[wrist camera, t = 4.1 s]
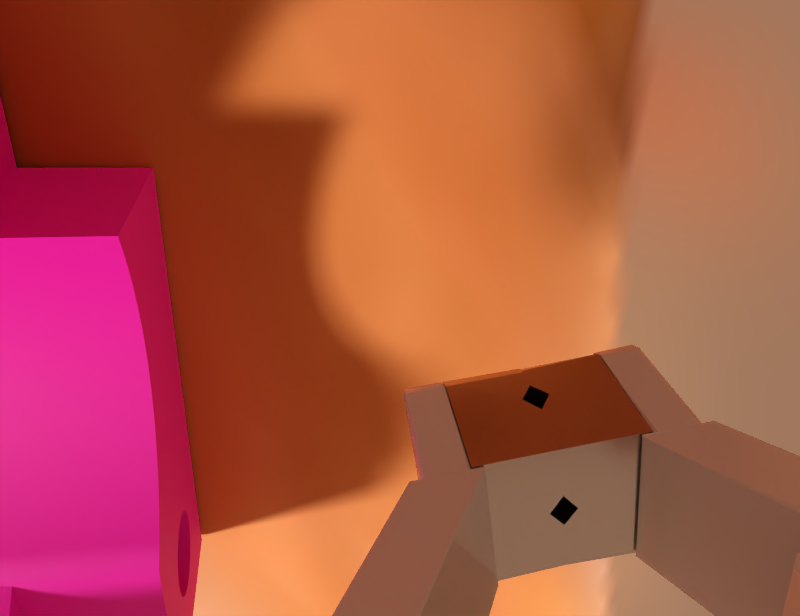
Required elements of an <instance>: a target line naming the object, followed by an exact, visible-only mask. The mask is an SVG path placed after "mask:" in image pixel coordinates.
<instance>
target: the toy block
mask: <svg viewBox="0 0 800 616" xmlns="http://www.w3.org/2000/svg"><path fill="white" fill-rule="evenodd" d="M201 540H202V539H201V531H200V523H199V515H198V508H197V500H196V492H195V485H194V477H193V469H192V461H191V454H190V446H189V438H188V430H187V423H186V415H185V407H184V400H183V392H182V384H181V376H180V369H179V361H178V353H177V345H176V338H175V330H174V322H173V314H172V307H171V299H170V291H169V284H168V276H167V268H166V260H165V253H164V245H163V237H162V229H161V222H160V214H159V206H158V199H157V191H156V183H155V175H154V168H17V166H16V162H15V158H14V153H13V149H12V145H11V140H10V136H9V132H8V127H7V123H6V119H5V114H4V110H3V105H2V101H1V97H0V616H193V609H194V600H195V592H196V583H197V575H198V566H199V557H200V549H201Z"/></svg>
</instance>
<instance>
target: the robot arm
mask: <svg viewBox="0 0 800 616" xmlns="http://www.w3.org/2000/svg"><path fill="white" fill-rule="evenodd" d="M404 401H405V406H406V412H407V418H408V423H409V429H410V435H411V440H412V446H413V452H414V457H415V463H416V468H417V474H418V480H416V481H411V482H409V484H408V485H407V487H406V489H405V491H404V492H403V494H402V496H401V498H400V499H399V501H398V503H397V505H396V506H395V508H394V510H393V511H392V513H391V515H390V517H389V518H388V520H387V522H386V524H385V525H384V527H383V529H382V530H381V532H380V534H379V536H378V537H377V539H376V541H375V543H374V544H373V546H372V548H371V550H370V551H369V553H368V555H367V556H366V558H365V560H364V562H363V563H362V565H361V567H360V569H359V570H358V572H357V574H356V575H355V577H354V579H353V581H352V582H351V584H350V586H349V588H348V589H347V591H346V593H345V595H344V596H343V598H342V600H341V601H340V603H339V605H338V607H337V608H336V610H335V612H334V614H333V615H332V616H489V614H490V611H491V607H492V604H493V601H494V597H495V594H496V591H497V587H498V581H499V580H503V579H507V578H512V577H516V576H520V575H524V574H529V573H533V572H537V571H541V570H545V569H550V568H554V567H558V566H562V565H565V564H566V565H567V564H573V563H579V562H584V561H590V560H595V559H601V558H607V557H612V556H618V555H624V554H629V553H635V552H636V556H637V557H638V558H640V559H641V560H642V561H643V562H645V563H646V564H648V565H649V566H650V567H651V568H653V569H654V570H655V571H657V572H658V573H659V574H661V575H662V576H663V577H665V578H666V579H667V580H669V581H670V582H671V583H673V584H674V585H675V586H677V587H678V588H679V589H681V590H682V591H683V592H684V593H686V594H687V595H688V596H690V597H691V598H692V599H694V600H695V601H696V602H698V603H699V604H700V605H702V606H703V607H704V608H706V609H707V610H708V611H709V612H711V613H712V614H714V615H715V616H800V456H798V455H795V454H793V453H790V452H788V451H786V450H783V449H781V448H778V447H776V446H774V445H771V444H769V443H766V442H764V441H762V440H759V439H757V438H754V437H752V436H749V435H747V434H744V433H742V432H740V431H737V430H735V429H732V428H730V427H728V426H725V425H723V424H720V423H718V422H715V421H711V422H706V423H701V422H700V421H699V419H698V418H697V417H696V416H695V414H694V413H693V412H692V411H691V410H690V408H689V407H688V406H687V405H686V404H685V403H684V401H683V400H682V399H681V398H680V397H679V395H678V394H677V393H676V392H675V390H674V389H673V388H672V387H671V386H670V384H669V383H668V382H667V381H666V380H665V378H664V377H663V376H662V375H661V374H660V372H659V371H658V370H657V369H656V368H655V366H654V365H653V364H652V363H651V362H650V360H649V359H648V358H647V357H646V356H645V354H644V353H643V352H642V351H641V349H640V348H638V347H636V346H634V345H628V346H624V347H619V348H615V349H610V350H606V351H601V352H597V353H594V354H593V355H590V356H585V357H580V358H575V359H569V360H564V361H559V362H554V363H549V364H544V365H539V366H534V367H529V368H524V369H515V370H510V371H504V372H498V373H492V374H486V375H481V376H475V377H469V378H463V379H458V380H452V381H446V382H443V384H442V383H436V384H430V385H425V386H420V387H415V388H409V389H404Z"/></svg>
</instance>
